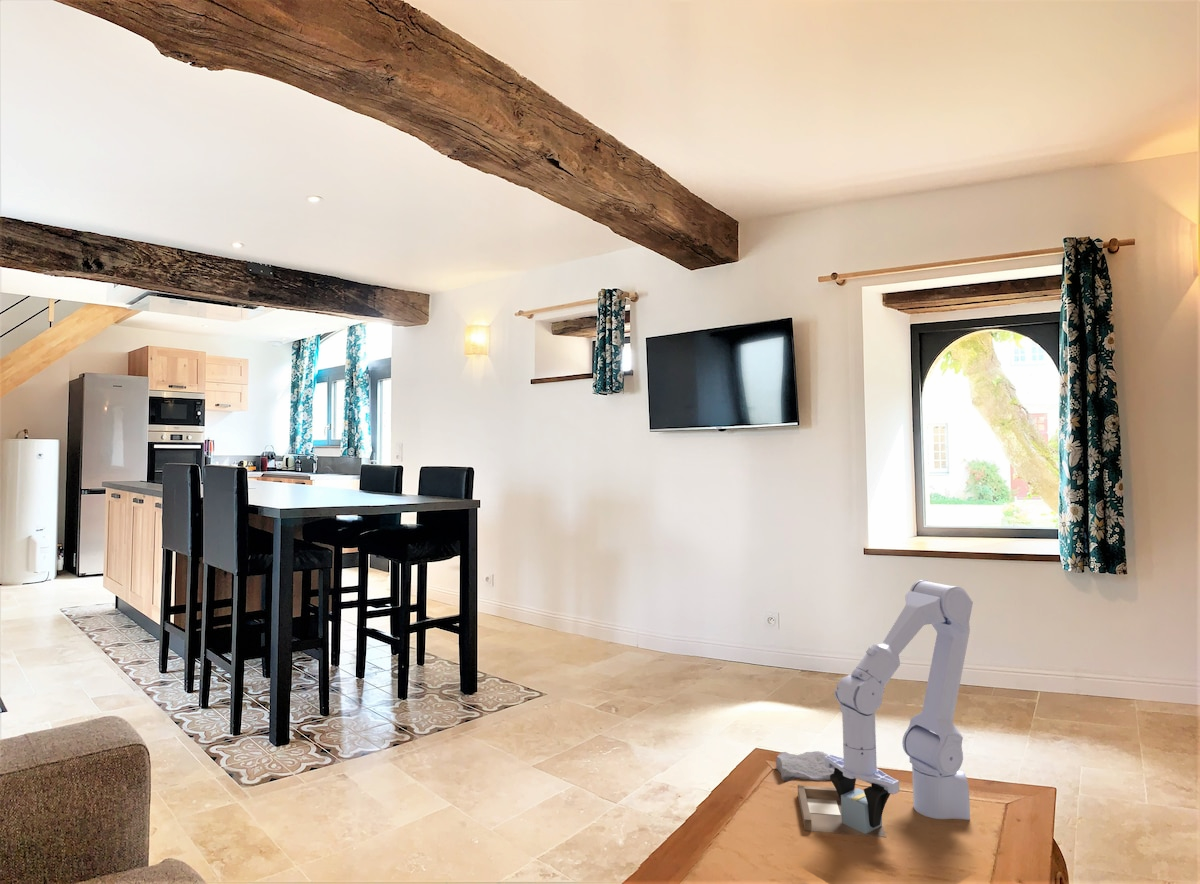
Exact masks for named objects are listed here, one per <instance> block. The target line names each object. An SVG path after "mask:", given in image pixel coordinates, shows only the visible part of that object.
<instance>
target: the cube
mask: <svg viewBox="0 0 1200 884" xmlns="http://www.w3.org/2000/svg"><path fill="white" fill-rule="evenodd" d="M841 815H842V823H843V824H845V825H847V826H849V827H852V828H854V829H856V830H858V831H860V832H862V833H864V834H867V833H869V832H871V831H873V830H875V829H877V828H879V827H881V826H882V827H883V816H882V817H881V822H880V825H879V826H876V827H874V828H873V827H871V826H870V823H869V809H868V803H867V799H866V796H865V793H864V789H861V788H858V787H857V788H855V789H854V790H852V791H850V792H847V793H845V794H843V795H841Z"/></svg>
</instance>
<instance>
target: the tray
mask: <svg viewBox="0 0 1200 884" xmlns="http://www.w3.org/2000/svg"><path fill="white" fill-rule="evenodd" d="M797 799H798V803H799V808H800V814H801V817H802V825H803V829H804V832H812V833H815V832H816V833H824V834H825V833H828V834H837V835H838V834H841V835H853V836H855V835H856V836H866V837H879V838H887V834H886V832H885V830H884V828H883V825H882V826H881V827H879V828H877V829H875V830H873V831H871V832H869V833H867V834H864V833H862V832H860V831H858V830H856V829H854V828H852V827H849V826H847V825H845V824H843V823H842V815H841V801H840V798H839V795H838V793H837V790H836V788H835V787H828V786H827V787H826V786H813V785H797Z"/></svg>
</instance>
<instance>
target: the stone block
mask: <svg viewBox="0 0 1200 884" xmlns="http://www.w3.org/2000/svg"><path fill="white" fill-rule="evenodd" d="M828 755H829V754H827V753H825V752H824V751H818V750H817V751H816V750H815V751H806V752H803V753H800V754H795V753H789V752H786V751H782V752H780V753H778V755H777V756H776V759H775V765H776V769H777V771H778V772H779V773H780V776H781V780H782V781H784V782H791V781H793V780H795V779H800V780H809V781H817V782H818V781H831V780H830V775H831V774H833V773H834V769H833V768H826V767H825V759H824V757H826V756H828Z"/></svg>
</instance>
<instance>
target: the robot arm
mask: <svg viewBox="0 0 1200 884" xmlns="http://www.w3.org/2000/svg"><path fill="white" fill-rule="evenodd" d="M904 597H905V605H904V607H903V608H902V610H901V612H900V613H899V615H898V617H897V619H896V620H895V622H894V623H893V624H892V626H891V629H890V630H889V631H888V633H887V635H886V636H885V638H884V640H883V642H881V643H876V644H872V645H871V646H870V647H869V646H868V648H867V650H866V651H865V653H866V654H865V655H864V656H863V658H862V659H861V660H860V662H859V663H858V664H857V666H856V667H855V669H853V671H852V672H851V674H849V675H847V676H844V677H842V678H841V679H840V680H839V682H838V684H837V686H836V689H835V690H833V692H834V697H835V699H836V701H837V703H838V704H839V707H840V713H841V714H842V715H841V716H842V717H841V718H842V745H843V746H842V747H843V748H842V749H843V752H842V753H843V755H842V756H843V757H841V756H837V755H834V754H828V756H826V757H824V759H825V767H826V768H833V769H834V773H833V774H831V775H830V780H829V781H831V783H832V784H833V787H834V788H836V790H837V793H838V795H839V798H840V801H841V795H843V794H845V793H847V792H850V791H852V790H854V789H856V781H857V780H860V781H863V782H866V783H868V784H871V785H870V786H868V787H866V788H864V789H863V790H864V793H865V796H866V799H867V803H868V809H869V823H870V826H871V827H873V828H874V827H876V826H879V825H880V822H881V817H882V818H883V814H884V813H883V812H884V809H885V806H886V804H887V801H888V799H889V798H890V796H891V795H893V796H894V795H895V794H898V793H899V792H900V781H899V780H898V779H895V778H894V777H892V776H890V775H888V774H887V773H885V772H883V771H882V770H880V769H879V768H877V767H878V766H877V738H876V737H877V734H876V712H877V710H879V709H880V708H881V706H882V703H883V694H884V693H885V687H886V685H887V684H888V683H889V682H890V680H891V678H892V677H893V675H894V674H895V673H896V671H897V670H898V668H899V667H900V666H901V661H900V654H901V653H902V652H903V651H904V650H905V648H906V647H907V646H908V645H909V643H911V641H912V640H913V639H914V638H915V637H916V635H917V634H918V633H919V632H920V630H921V629H922V628H923V627H924V626H926V625H932V627H933V628H934V630H935V631H936V637H935V642H934V648H933V653H932V658H931V664H930V667H929V674H928V679H927V685H926V689H925V694H924V700H923V704H922V710H921V712H920V713H917V714H916V715H914V716H912V717H911V718H910V722H909V726H908V727H907V729H906V731H905V732H904V734H903V737H902V744H901V745H902V748H903V751H904V753H905V754H906V755H907V756H908V757H909V763H910V764H911V766H912V767H911V769H912V771H911V772H912V773H911V774H912V798H913V799H912V800H913V802H912V803H913V809H914V810H915V811H916V812H917V813H918V814H920V815H922V816H924V817H926V818H927V817H928V818H929V819H930V818H931V819H935V820H936V819H937V820H950V819H953V820H954V819H955V820H965V821H966V820H971V807H970V806H971V805H970V804H971V803H970V788H969V787H970V786H969V782H968V778H967V776H966V772H965V771H964V770H962V769H961V766H962V764H963V760H964V754H963V753H964V751H963V747H962V745H963V740H964V737H963V735H962V733H961V732H960V731H959V729H958V727H957V726H956V725H955V723H954V717H955V712H956V707H957V701H958V697H959V691H960V690H959V689H960V687H961V686H960V685H961V680H962V673H963V670H964V669H963V668H964V666H965V663H964V662H965V658H966V653H967V648H968V642H969V638H970V632H971V631H970V630H971V629H970V627H971V626H970V620H971V614H972V608H973V604H974V603H973V602H974V601H972V599H971V597H970V595H969V594H968V593H967V591H966V590H965V589H964V588H963V587H961V586H959V585H958V586H957V585H948V584H943V583H938V582H931V581H928V580H924V579H920V580H917V581H916V582H913V584H912V586H911V588H910V590H909V591H908V592H907V593H906V594H905V596H904Z"/></svg>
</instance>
